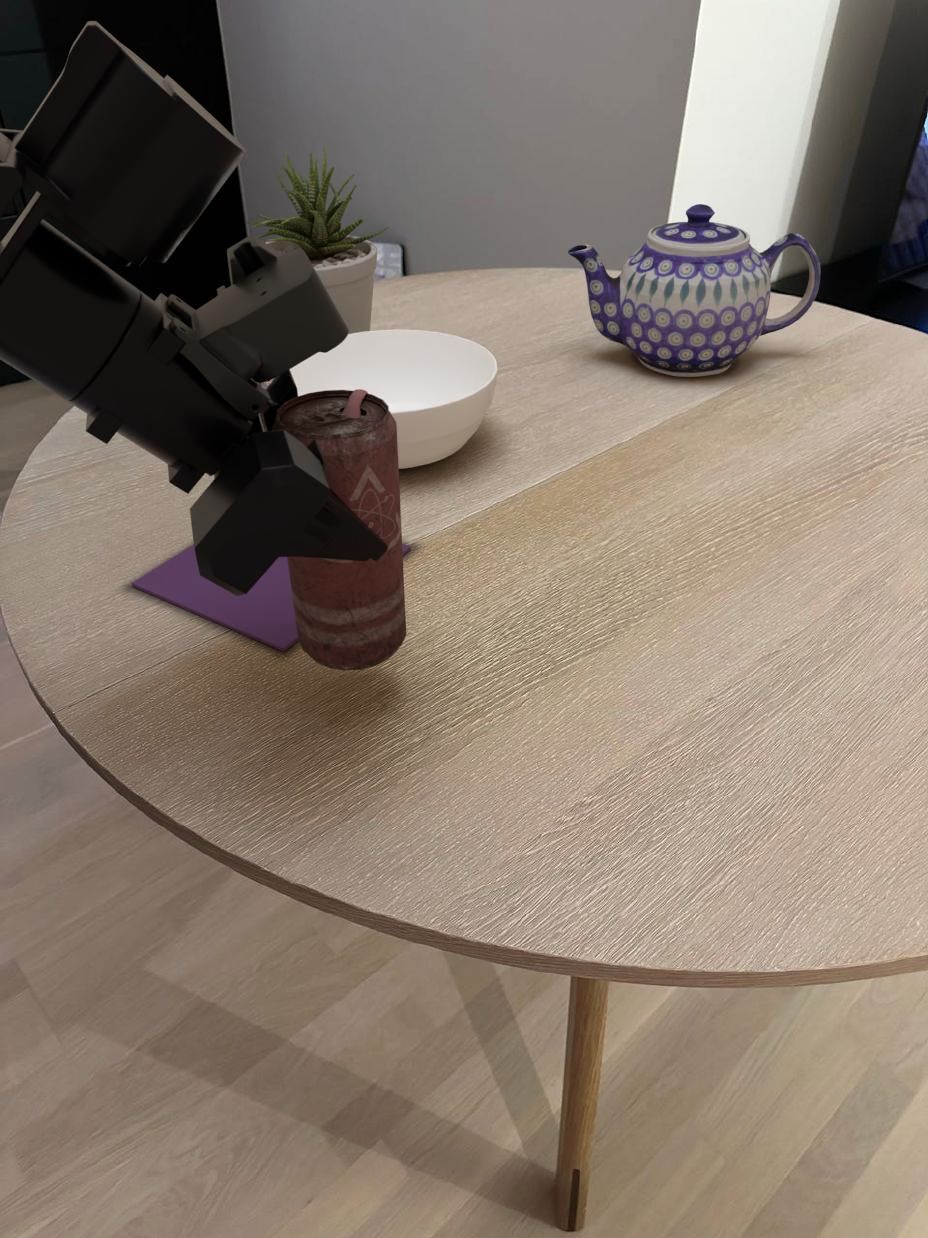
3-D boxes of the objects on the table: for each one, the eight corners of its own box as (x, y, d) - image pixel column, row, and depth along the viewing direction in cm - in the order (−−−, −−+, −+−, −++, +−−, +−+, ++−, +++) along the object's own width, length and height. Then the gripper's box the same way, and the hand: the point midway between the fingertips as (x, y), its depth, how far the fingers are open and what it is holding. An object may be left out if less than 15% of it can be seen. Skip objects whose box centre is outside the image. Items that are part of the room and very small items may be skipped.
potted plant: (417, 368, 96) (407, 155, 84) (296, 400, 90) (266, 175, 78) (358, 333, 104) (341, 135, 92) (244, 361, 98) (210, 153, 86)
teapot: (788, 332, 102) (817, 185, 93) (823, 388, 90) (861, 225, 81) (559, 332, 104) (566, 187, 95) (564, 386, 91) (572, 226, 82)
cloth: (132, 586, 65) (131, 583, 65) (268, 501, 74) (267, 497, 74) (283, 652, 59) (283, 648, 59) (411, 549, 68) (410, 546, 68)
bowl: (260, 430, 85) (248, 353, 80) (438, 389, 92) (435, 315, 87) (337, 519, 72) (327, 433, 67) (537, 463, 79) (540, 381, 74)
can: (420, 615, 55) (412, 388, 47) (387, 681, 50) (372, 441, 42) (324, 600, 56) (300, 377, 48) (282, 664, 51) (247, 428, 43)
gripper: (238, 256, 31) (538, 501, 40) (201, 152, 45) (428, 349, 54) (50, 499, 34) (369, 676, 43) (72, 329, 48) (307, 488, 57)
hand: (371, 527), depth 49 cm, fingers closed on can, 5 cm apart
